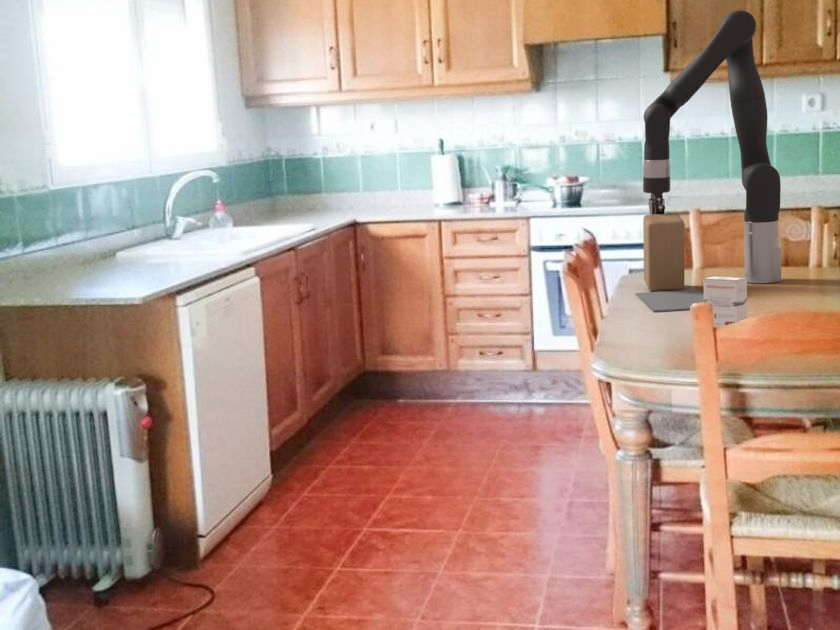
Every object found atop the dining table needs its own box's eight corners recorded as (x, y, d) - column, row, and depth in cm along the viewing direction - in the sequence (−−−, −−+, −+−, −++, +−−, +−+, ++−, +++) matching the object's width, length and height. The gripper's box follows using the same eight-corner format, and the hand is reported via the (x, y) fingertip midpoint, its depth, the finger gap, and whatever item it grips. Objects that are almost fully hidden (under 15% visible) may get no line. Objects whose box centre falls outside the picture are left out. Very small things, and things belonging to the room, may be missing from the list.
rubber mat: (697, 291, 292) (697, 289, 292) (721, 308, 265) (721, 306, 265) (635, 294, 293) (635, 293, 292) (653, 312, 266) (653, 310, 266)
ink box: (748, 328, 239) (747, 276, 237) (738, 332, 236) (737, 280, 234) (713, 325, 245) (712, 275, 243) (702, 329, 241) (701, 278, 239)
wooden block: (678, 279, 304) (678, 211, 297) (685, 290, 294) (685, 221, 287) (643, 281, 304) (642, 214, 297) (648, 292, 295) (648, 223, 288)
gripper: (674, 176, 293) (674, 238, 296) (665, 173, 306) (665, 232, 309) (647, 177, 293) (647, 239, 297) (639, 174, 306) (639, 233, 310)
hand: (656, 236), depth 303 cm, fingers closed
